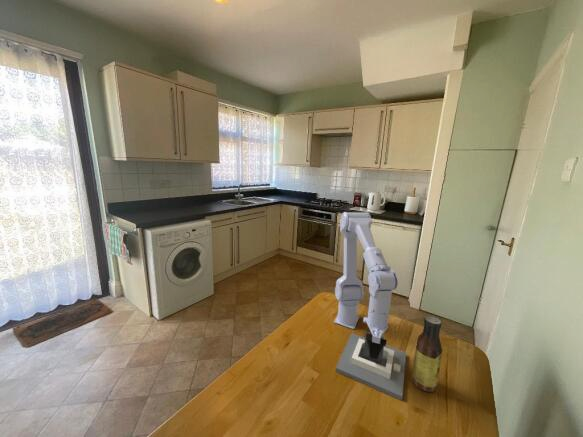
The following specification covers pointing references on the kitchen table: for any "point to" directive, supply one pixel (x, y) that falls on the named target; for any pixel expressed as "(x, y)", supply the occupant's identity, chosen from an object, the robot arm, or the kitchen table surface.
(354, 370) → the socket
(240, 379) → the kitchen table surface
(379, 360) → the plug
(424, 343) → the sauce bottle
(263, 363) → the kitchen table surface
